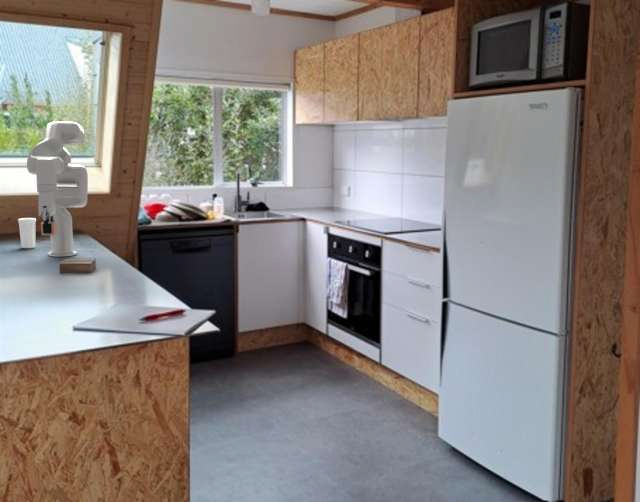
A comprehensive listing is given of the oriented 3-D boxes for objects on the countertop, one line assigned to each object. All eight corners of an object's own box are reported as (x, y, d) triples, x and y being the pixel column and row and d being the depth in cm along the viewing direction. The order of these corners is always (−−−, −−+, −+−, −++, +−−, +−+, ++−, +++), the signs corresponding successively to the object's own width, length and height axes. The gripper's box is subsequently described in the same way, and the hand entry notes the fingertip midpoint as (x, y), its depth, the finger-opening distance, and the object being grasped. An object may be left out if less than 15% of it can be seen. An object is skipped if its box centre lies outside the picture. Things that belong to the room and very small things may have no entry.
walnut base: (66, 267, 278) (65, 258, 278) (95, 267, 280) (95, 258, 280) (59, 273, 267) (59, 263, 266) (90, 273, 269) (90, 263, 268)
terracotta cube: (44, 233, 276) (43, 221, 276) (56, 233, 277) (56, 221, 276) (41, 235, 272) (40, 223, 271) (54, 235, 272) (53, 223, 271)
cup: (20, 246, 326) (18, 217, 323) (38, 246, 328) (36, 217, 326) (18, 249, 318) (16, 220, 316) (36, 249, 320) (35, 219, 318)
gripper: (42, 186, 278) (44, 229, 282) (31, 190, 262) (34, 235, 265) (61, 186, 280) (63, 229, 283) (51, 190, 263) (53, 235, 267)
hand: (49, 231), depth 274 cm, fingers closed on terracotta cube, 4 cm apart
